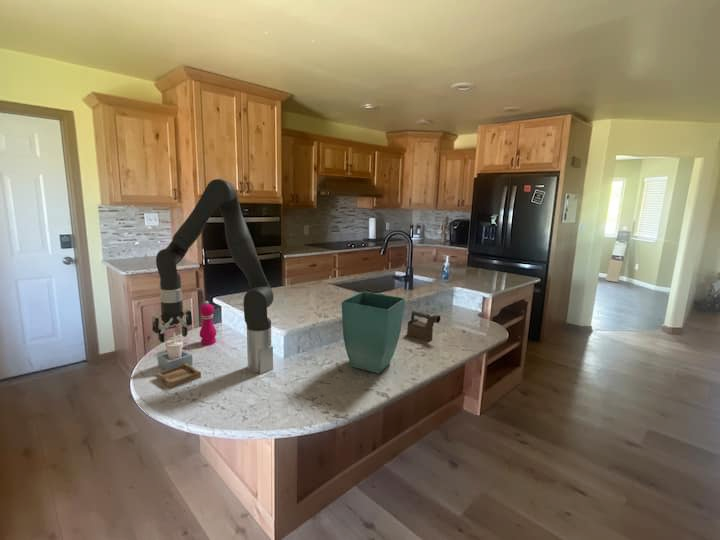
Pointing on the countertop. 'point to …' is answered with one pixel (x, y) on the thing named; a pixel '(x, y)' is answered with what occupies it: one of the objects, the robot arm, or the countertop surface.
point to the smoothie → (174, 348)
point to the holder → (167, 364)
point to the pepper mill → (207, 325)
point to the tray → (178, 375)
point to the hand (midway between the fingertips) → (173, 339)
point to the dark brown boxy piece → (422, 326)
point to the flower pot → (371, 329)
